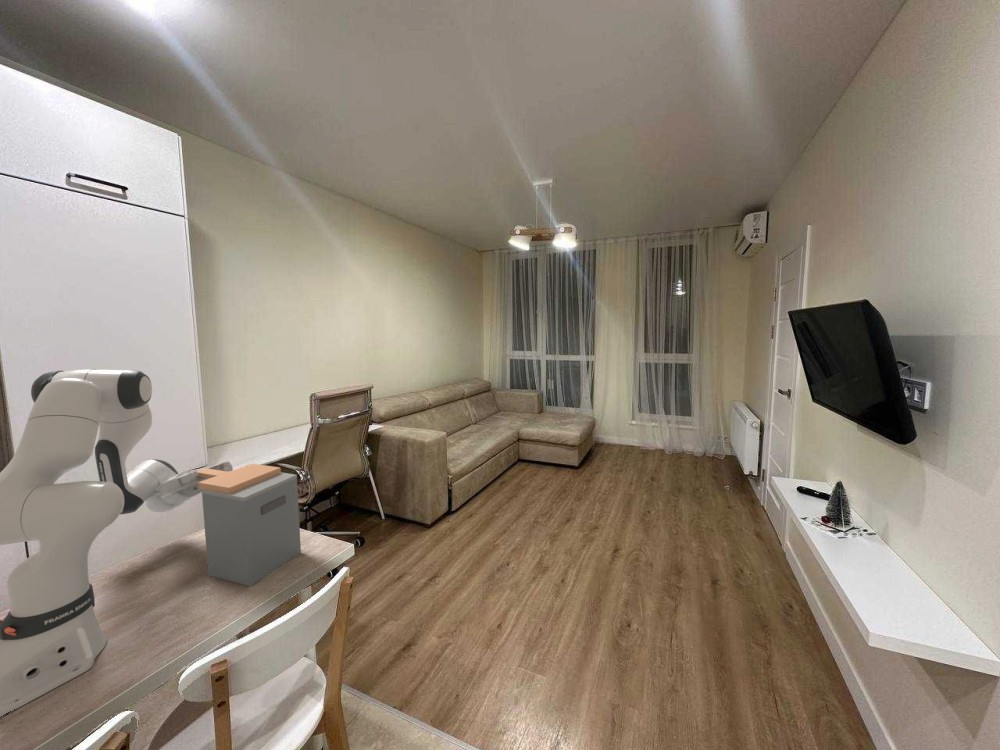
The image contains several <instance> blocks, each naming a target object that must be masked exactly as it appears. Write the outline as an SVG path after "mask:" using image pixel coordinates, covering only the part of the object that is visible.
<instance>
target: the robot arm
mask: <svg viewBox="0 0 1000 750" xmlns="http://www.w3.org/2000/svg"><path fill="white" fill-rule="evenodd" d="M30 390H31V391H30V394H31V400H32V402H33V403H34V404H33V405H32V408H31V410H30V412H29V415H28V418H27V421H26V424H25V428H24V430H23V433H22V436H21V439H20V441H19V444H18V447H17V449H16V451H15V452H14V455H13V457H12V458H11V459H10V461H9V462H8V464H7V465H6V466H5V467H3V470H1V471H0V546H4V545H11V544H12V545H13V544H19V543H25V542H32V541H34V542H35V541H36V542H37V541H38V542H39V546H40V547H39V552H36V553H34V554H32V555H31V556H29V557H27V558H25V559H24V560H22V561H21V562H19V563H18V564H17V565H16V566H15V567H13V568H12V570H11V571H10V572H9V574H8V576H7V578H6V582H5V583H6V592H7V599H8V605H9V611H8V613H7V614H6V615H5V617H4V618H3V620H2V619H0V718H2V717H4V716H5V715H4V714H6V713H8V712H9V713H11V712H13V711H15V710H17V709H18V708H20V707H23V706H25V705H26V704H27V703H29V702H32V701H33V700H36V699H37V698H39V697H41V696H42V695H45V694H46V693H48V692H50V691H53V689H56V688H58V687H59V686H61V685H64V684H65V683H67V682H68V681H70V680H73V679H74V678H76V677H78V676H80V675H82V674H83V673H86V672H88V671H89V670H90V669H91V668H92V667H93V665H94V663H95V659H96V657H97V656H98V655H99V654H100V653H101V652H102V651H103V650H104V648H105V647H106V644H107V637H106V634H105V633H104V631H103V630H102V629H101V626H100V625H99V622H98V619H97V616H96V613H95V609H94V608H95V605H96V604H95V592H94V587H93V585H92V583H91V582H90V577H89V553H90V549H91V547H92V545H93V543H94V541H95V540H96V539H97V537H98V536H99V535H100V533H102V532H103V531H104V530H105V529H106V528H107V527H109V526H110V525H112V524H113V523H114V522H115V521H116V520H117V519H118V518H119V516H120V515H126V514H127V515H128V514H133V513H135V512H136V511H137V510H139V508H140V507H142V505H143V504H144V503H145V506H146V507H147V509H148V510H150V511H152V512H154V513H165V512H169V511H171V510H174V509H175V508H177V507H180V506H181V505H183V504H184V503H186V501H189V500H190V499H192V498H194V497H196V496H198V495H199V494H202V490H203V489H199V487H198V482H201V481H204V480H207V479H210V478H206V477H200V476H199V475H198V474H197V471H200V470H203V469H207V468H208V469H214V470H221V471H227V472H229V471H232V470H234V468H233V466H232V463H231V462H230V461H228V460H227V461H226V460H225V461H223V462H220V463H217V464H214V465H210V466H207V467H204V468H198V469H192V470H183V471H180V472H178V471H177V469H176V468H175V467H174V466H173V465H172V464H170V463H169V462H168V461H165V460H161V459H156V458H155V459H153V458H152V459H149V458H148V459H145V460H143V461H142V462H140V463H139V464H138V465H136V466H134V467H133V468H132V469H131V470H130V471H129V472H127V468H126V467H127V465H126V462H127V459H128V457H129V454H130V453H131V452H132V451H133V449H134V448H135V446H136V445H137V444H138V443H139V442H140V441H141V440H142V439H143V438H144V437H145V436H146V435H147V434H148V432H149V431H150V429H151V427H152V423H153V415H152V412H151V408H150V406H149V402H150V400H151V398H152V395H153V385H152V381H151V379H150V378H149V376H148V375H147V374H146V373H144V372H142V370H141V371H140V370H135V369H124V370H121V369H97V368H87V369H74V370H66V371H65V370H55V371H49V372H46V373H43V374H41V375H40V376H39V377H37V378H36V379H35V380H34V381H33V383H32V385H31V389H30ZM98 431H99V433H98ZM98 434H99V435H98ZM97 435H98V438H97ZM96 440H97V442H96ZM95 444H96V445H95ZM93 454H94V456H95V462H96V468H97V474H98V479H99V481H98V480H80V481H79V480H78V481H69V482H61V483H60V482H59V483H56V482H57V481H58V480H59V478H61V477H62V476H63V475H65V474H67V472H69V471H72V470H73V469H75V468H78V467H80V466H82V465H84V464H85V463H86V462H88V460H89V459H90V458H91V457H92V455H93ZM14 709H15V710H14ZM10 711H11V712H10ZM9 713H8V714H9ZM3 715H4V716H3ZM6 715H7V714H6ZM1 716H2V717H1Z"/></svg>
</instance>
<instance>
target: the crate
mask: <svg viewBox="0 0 1000 750" xmlns="http://www.w3.org/2000/svg"><path fill="white" fill-rule="evenodd" d="M298 488H299V487H298V474H294V473H287V472H282V471H281V473H280V474H277V475H275V476H272V477H270V478H267V479H265V480H263V481H260V482H258V483H255V484H253V485H250V486H248V487H246V488H243V489H241V490H238V491H236V492H233V493H231V494H227V493H221V492H215V491H210V490H204V489H203V490H202V492H201V498H202V511H203V522H204V523H203V524H204V536H205V548H206V560H207V573H208V577H209V576H210V577H213V578H217V579H220V580H224V581H229V582H232V583H234V584H235V583H236V584H239V585H242V586H247V587H252V586H253V585H254V584H256V583H257V582H259V581H260V580H262V579H263V578H265V577H267V576H268V575H270V574H271V573H272V572H274V571H275V570H277V569H279V568H280V567H281V566H283V565H284V564H285V563H287V562H289V561H290V560H292V559H293V558H294V557H296V556H297V555H299V554H300V553H301V551H302V550H301V548H302V547H301V545H302V544H301V531H300V529H301V528H300V514H299V511H300V509H299V508H300V507H299V492H298Z"/></svg>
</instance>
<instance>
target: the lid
mask: <svg viewBox="0 0 1000 750" xmlns="http://www.w3.org/2000/svg"><path fill="white" fill-rule="evenodd" d="M202 469H203V468H202ZM281 472H282V469H281V467H279V466H271V465H264V464H257V463H250V464H247V465H244V466H240V467H239V468H235V469H233V470H232V471H229V472H227V471H221V470H214V469H208V468H207V469H203V470H200V471H197V474H198V475H199V476H200V477H206V478H210V479H207V480H204V481H201V482H198V487H199V489H204V490H210V491H215V492H221V493H227V494H231V493H233V492H236V491H238V490H241V489H243V488H246V487H248V486H250V485H253V484H255V483H258V482H260V481H263V480H265V479H267V478H270V477H272V476H275V475H277V474H280V473H281Z"/></svg>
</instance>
